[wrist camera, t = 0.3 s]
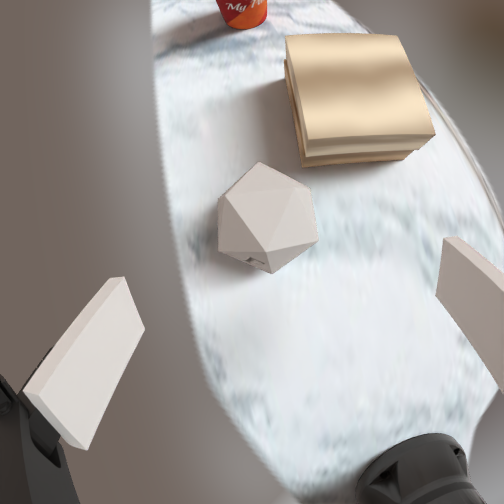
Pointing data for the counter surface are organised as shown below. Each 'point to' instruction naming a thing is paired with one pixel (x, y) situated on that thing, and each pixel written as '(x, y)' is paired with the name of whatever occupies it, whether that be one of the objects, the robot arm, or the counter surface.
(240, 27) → the paper cup
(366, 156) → the tower base slab
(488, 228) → the counter surface
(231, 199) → the die
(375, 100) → the tower top slab
